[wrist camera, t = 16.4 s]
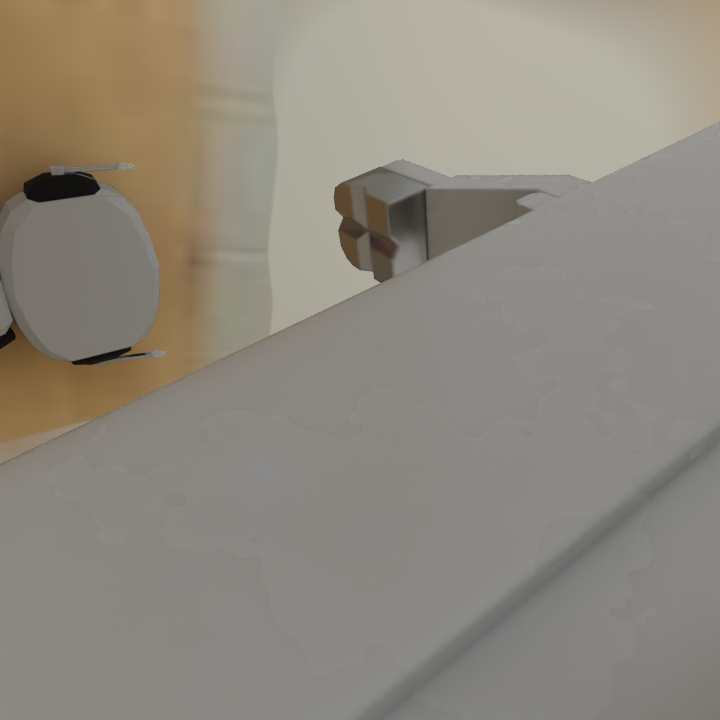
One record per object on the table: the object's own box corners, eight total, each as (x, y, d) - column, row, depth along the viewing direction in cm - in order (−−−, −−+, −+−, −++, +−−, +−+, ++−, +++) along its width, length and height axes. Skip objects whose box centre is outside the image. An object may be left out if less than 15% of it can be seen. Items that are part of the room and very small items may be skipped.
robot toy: (-100, 389, 37) (156, 327, 44) (-100, 433, 34) (177, 358, 41) (-194, 181, 31) (125, 144, 37) (-205, 210, 27) (147, 164, 34)
